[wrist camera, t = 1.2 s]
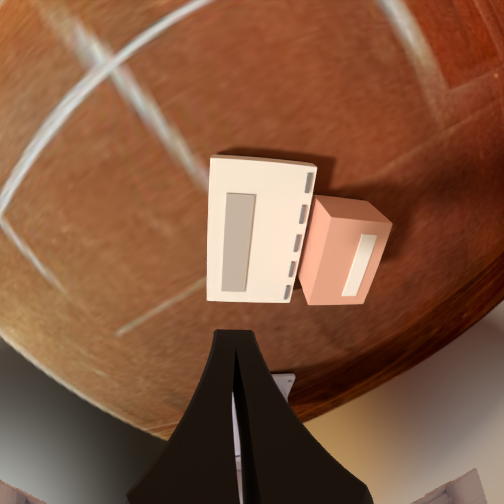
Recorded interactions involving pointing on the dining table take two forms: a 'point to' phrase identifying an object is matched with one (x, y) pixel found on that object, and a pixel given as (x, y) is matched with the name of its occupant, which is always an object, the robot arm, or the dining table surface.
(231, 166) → the white slotted panel
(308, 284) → the pink rectangular block
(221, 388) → the robot arm
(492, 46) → the dining table surface
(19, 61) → the dining table surface
